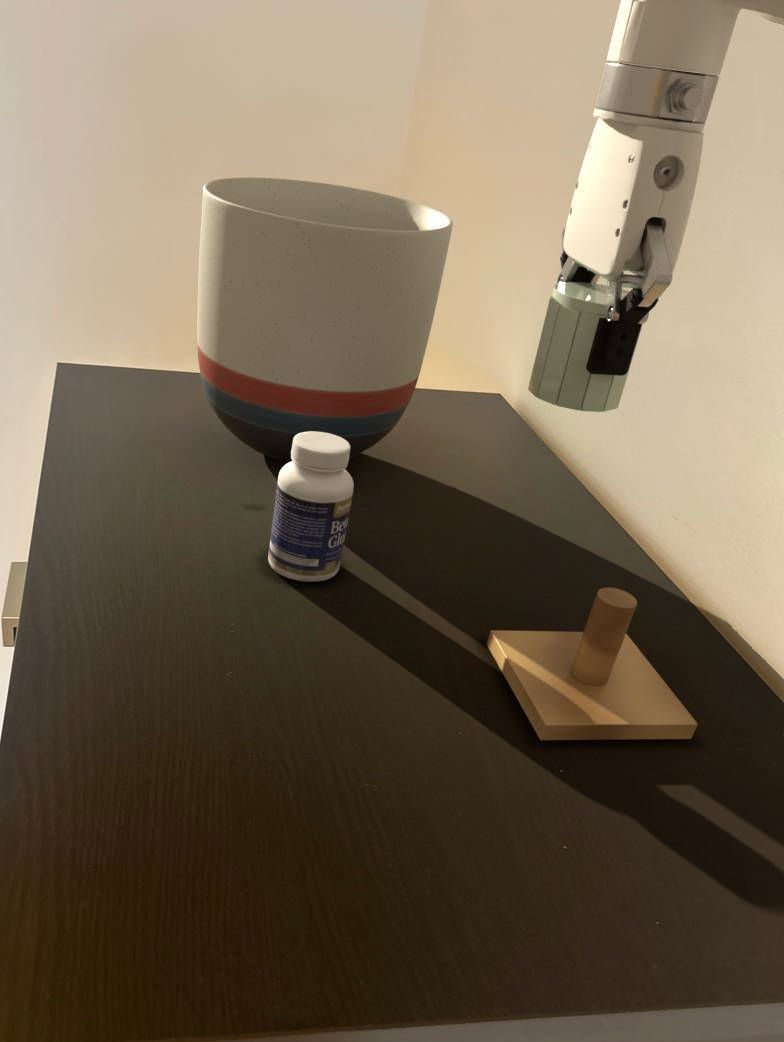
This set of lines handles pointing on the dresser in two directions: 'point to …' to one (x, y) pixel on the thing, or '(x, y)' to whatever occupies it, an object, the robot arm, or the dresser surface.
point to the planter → (314, 308)
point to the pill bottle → (311, 508)
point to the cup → (574, 351)
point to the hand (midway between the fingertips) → (584, 355)
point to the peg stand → (590, 679)
